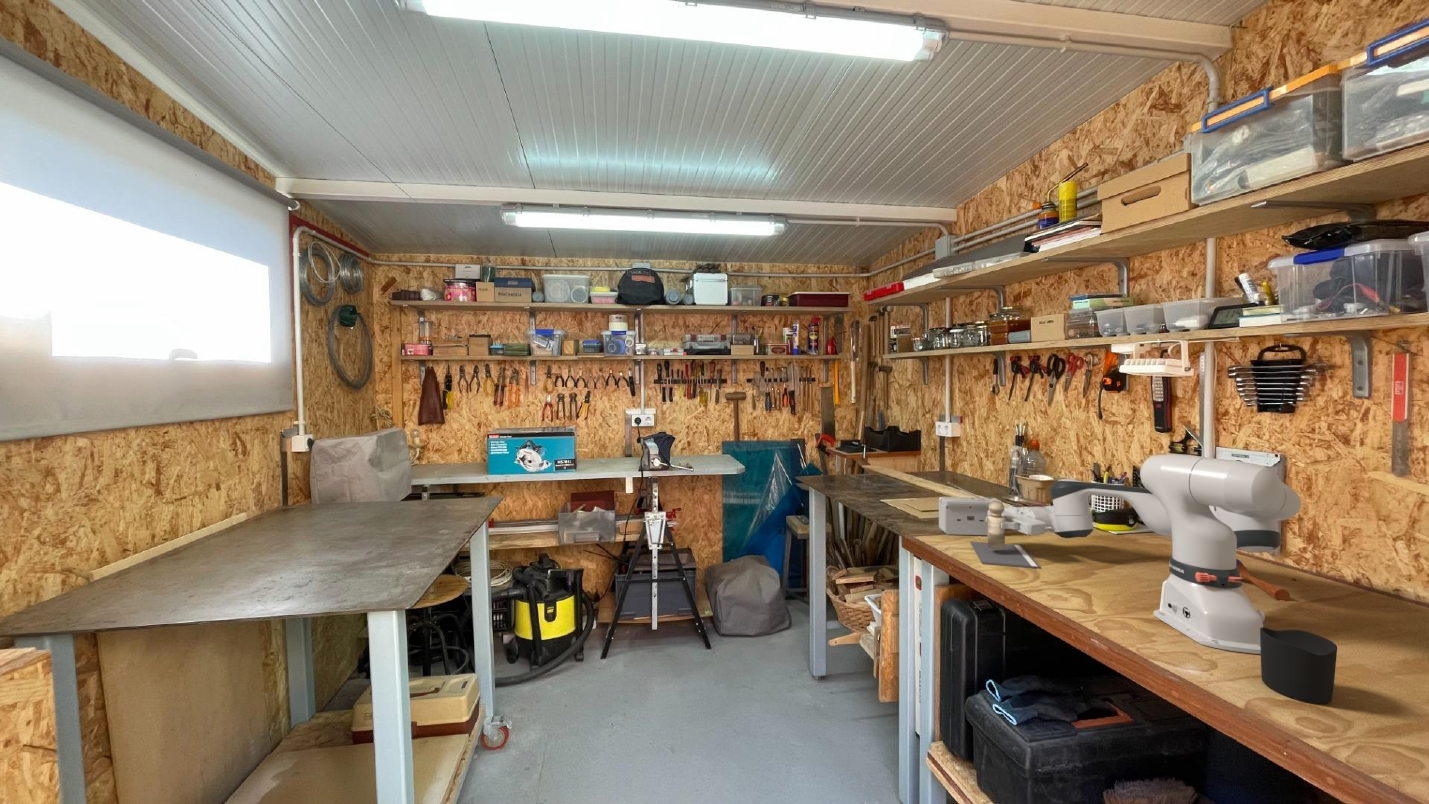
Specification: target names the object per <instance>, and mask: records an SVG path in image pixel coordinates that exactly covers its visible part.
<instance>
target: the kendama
mask: <svg viewBox="0 0 1429 804" xmlns="http://www.w3.org/2000/svg"><path fill="white" fill-rule="evenodd" d="M1236 566H1237V567H1238V569H1239V573H1240V575H1241V578H1243V579H1242V580H1248V581H1250V582H1251V583H1252V584H1254V585H1255V586H1257V587H1258V588H1260V589H1261V590H1262V591H1264V592H1265V593H1266V594H1267V595H1269V596H1271V597H1272V598H1273V599H1275V600H1276V601H1280V600H1286V601H1288V600H1289V598H1290V592H1289V590H1287V589H1285V588H1282V587H1279V586H1276V585H1274V584H1271V583H1269V582H1267V581H1265V580H1261V579H1259V578H1256V577H1254V576H1252V575H1251V574H1250V572H1249V570H1248V568H1247V567H1246V566H1245V565H1244V563H1243V562H1242V561H1241V560H1240V559H1238V558H1236Z"/></svg>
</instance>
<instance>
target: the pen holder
mask: <svg viewBox="0 0 1429 804" xmlns="http://www.w3.org/2000/svg"><path fill="white" fill-rule="evenodd" d="M1260 646H1261V654H1260V670H1261V671H1260V672H1261V673H1260V674H1261V680H1262V683H1264V685H1265V686H1266V687H1267V688H1269V689H1270V690H1272V691H1273V692H1276V693H1278V694H1280V695H1281V696H1284V697H1287V698H1289V699H1293V700H1296V701H1299V702H1303V703H1310V704H1313V705H1325V704H1329V703H1331V702H1332V700H1333V695H1334V687H1335V677H1336V676H1335V675H1336V667H1337V655H1338V645H1337V644H1336V643H1335V642H1333V641H1332V640H1330V639H1327V638H1325V637H1324V636H1321V635H1319V634H1315V633H1312V632H1309V631H1306V630H1301V629H1281V630H1278V629H1277V630H1276V629H1275V630H1274V629H1271V628H1269V627H1264V626H1263V627H1261V628H1260Z"/></svg>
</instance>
